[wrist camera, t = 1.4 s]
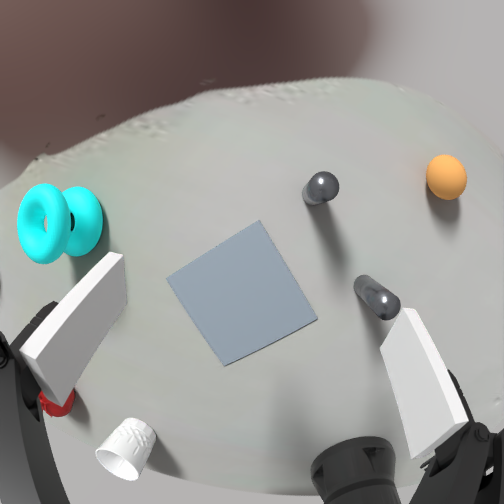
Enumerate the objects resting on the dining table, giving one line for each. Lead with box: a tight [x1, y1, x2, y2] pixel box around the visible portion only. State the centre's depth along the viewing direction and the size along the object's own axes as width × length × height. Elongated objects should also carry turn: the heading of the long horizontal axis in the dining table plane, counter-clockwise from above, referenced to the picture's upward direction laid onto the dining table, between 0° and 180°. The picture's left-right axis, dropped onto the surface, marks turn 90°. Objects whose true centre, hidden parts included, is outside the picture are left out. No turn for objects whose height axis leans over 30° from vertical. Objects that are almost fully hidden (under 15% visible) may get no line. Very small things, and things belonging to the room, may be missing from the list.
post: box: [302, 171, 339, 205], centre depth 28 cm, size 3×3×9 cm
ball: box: [426, 155, 467, 200], centre depth 27 cm, size 6×6×6 cm
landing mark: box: [166, 220, 318, 366], centre depth 35 cm, size 14×14×1 cm
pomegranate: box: [38, 389, 75, 417], centre depth 36 cm, size 10×10×9 cm
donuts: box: [17, 184, 103, 264], centre depth 31 cm, size 10×10×10 cm
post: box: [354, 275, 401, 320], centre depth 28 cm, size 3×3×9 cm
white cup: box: [96, 418, 156, 481], centre depth 35 cm, size 8×8×10 cm
